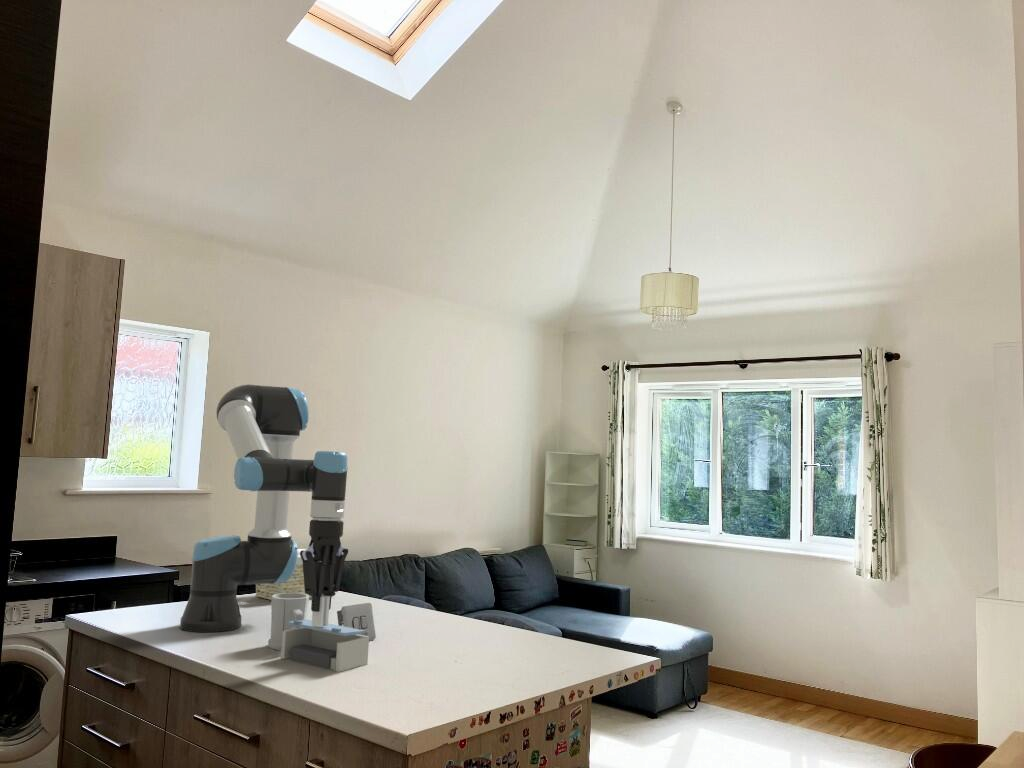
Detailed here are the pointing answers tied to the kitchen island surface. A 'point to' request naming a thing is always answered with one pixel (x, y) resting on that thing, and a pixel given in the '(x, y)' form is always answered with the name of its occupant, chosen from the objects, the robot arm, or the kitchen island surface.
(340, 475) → the robot arm
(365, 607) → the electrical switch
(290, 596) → the cup
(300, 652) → the dark grey block
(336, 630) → the cover
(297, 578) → the storage basket
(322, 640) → the white u-shaped bracket
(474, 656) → the kitchen island surface
